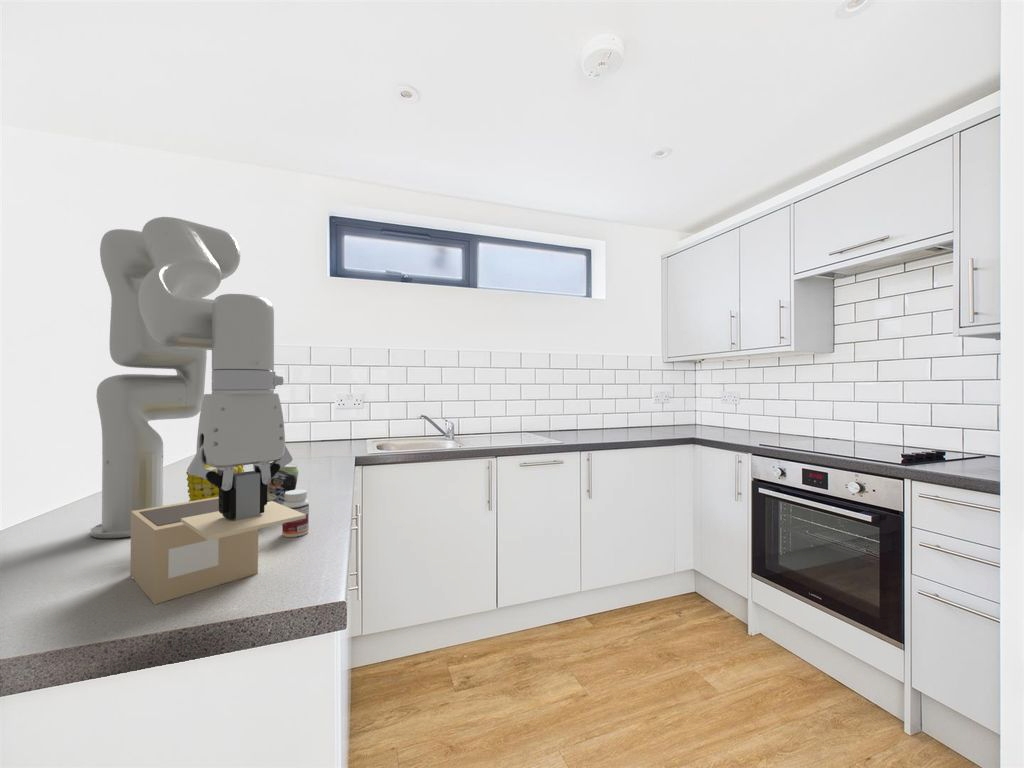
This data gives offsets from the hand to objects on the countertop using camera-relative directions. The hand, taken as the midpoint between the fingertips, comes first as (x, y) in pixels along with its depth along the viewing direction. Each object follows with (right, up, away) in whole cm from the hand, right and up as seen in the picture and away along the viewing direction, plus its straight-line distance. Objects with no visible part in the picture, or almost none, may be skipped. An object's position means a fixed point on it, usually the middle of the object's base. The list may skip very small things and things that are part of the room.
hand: (243, 513), depth 63 cm
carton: (-12, -12, +7) cm, 18 cm away
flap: (0, -1, 0) cm, 1 cm away
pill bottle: (-6, -12, +26) cm, 29 cm away
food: (-20, -12, +26) cm, 35 cm away
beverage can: (-14, -12, +37) cm, 42 cm away
